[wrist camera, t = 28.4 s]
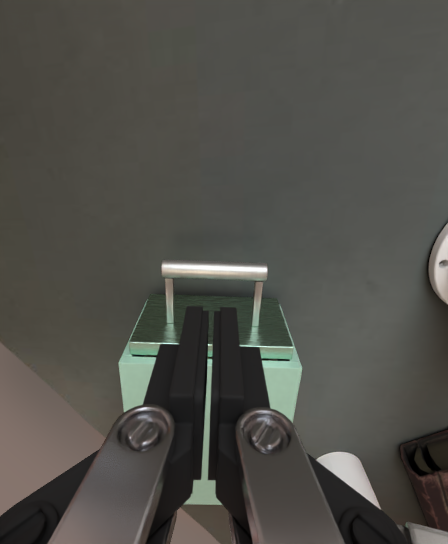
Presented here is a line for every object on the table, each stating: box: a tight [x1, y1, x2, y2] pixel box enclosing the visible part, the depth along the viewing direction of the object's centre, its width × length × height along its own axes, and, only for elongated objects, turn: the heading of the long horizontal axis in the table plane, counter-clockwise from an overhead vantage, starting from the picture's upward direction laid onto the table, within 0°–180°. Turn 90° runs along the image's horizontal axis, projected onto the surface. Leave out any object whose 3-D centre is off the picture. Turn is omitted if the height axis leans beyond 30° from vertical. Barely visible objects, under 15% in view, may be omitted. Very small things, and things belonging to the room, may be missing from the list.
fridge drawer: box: [129, 259, 294, 361], centre depth 29 cm, size 21×12×8 cm, turn 177°
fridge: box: [119, 300, 302, 505], centre depth 31 cm, size 17×14×10 cm
